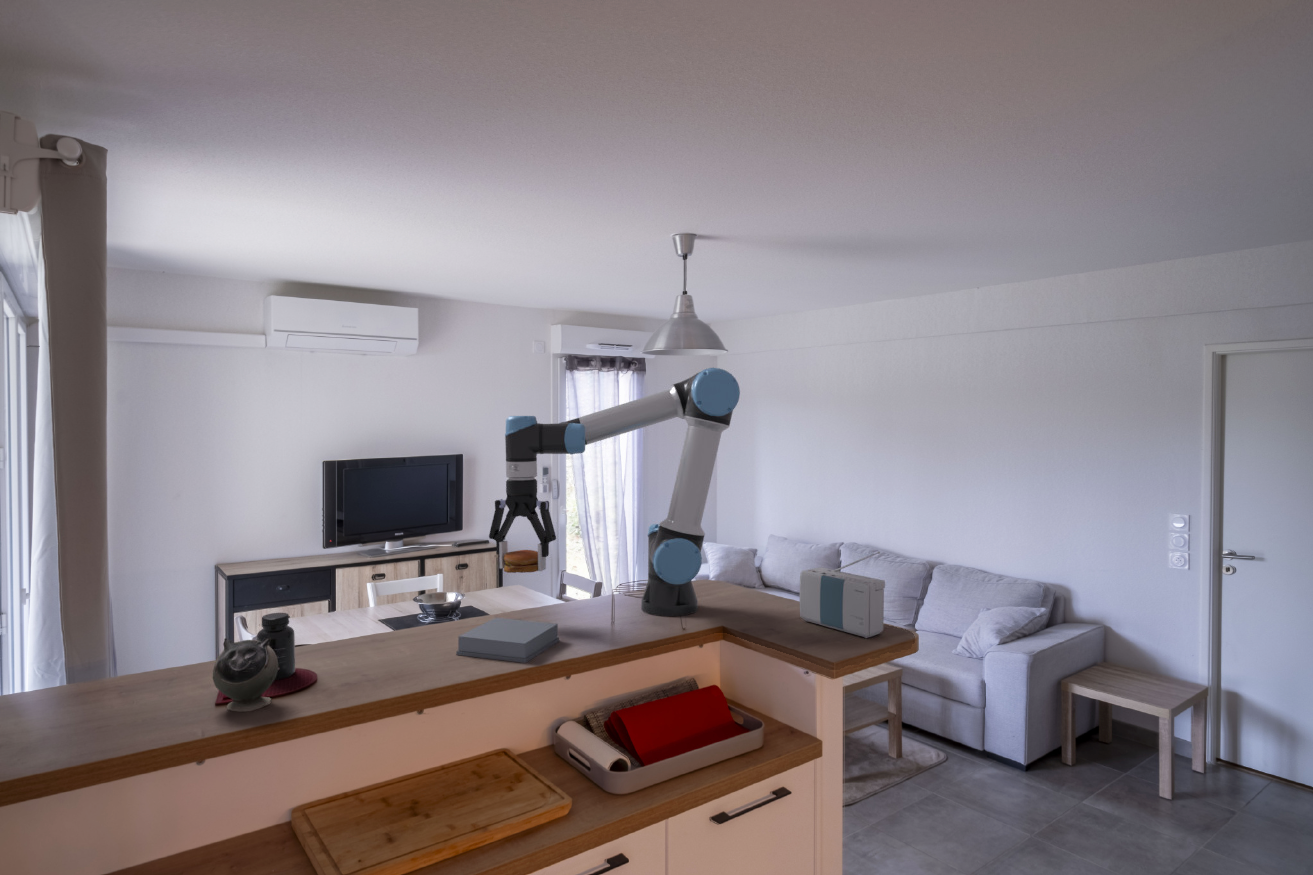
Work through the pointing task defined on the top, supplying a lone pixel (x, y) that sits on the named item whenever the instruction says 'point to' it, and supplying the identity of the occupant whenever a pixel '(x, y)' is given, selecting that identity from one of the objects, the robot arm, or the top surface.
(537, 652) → the stacking base
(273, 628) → the supplement bottle
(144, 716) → the top surface
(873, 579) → the stereo radio cassette player
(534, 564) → the burger
